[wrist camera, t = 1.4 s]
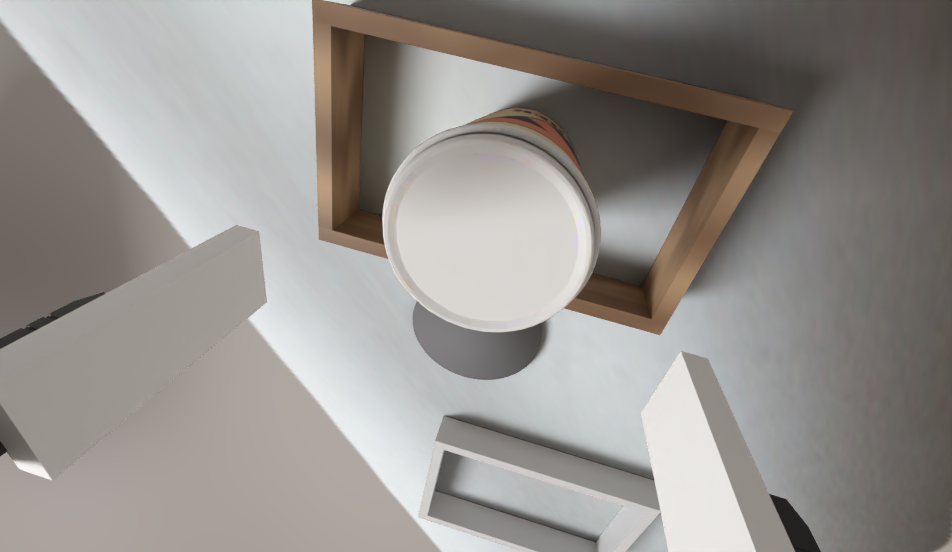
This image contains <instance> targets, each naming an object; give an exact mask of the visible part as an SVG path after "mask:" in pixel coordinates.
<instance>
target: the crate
mask: <svg viewBox="0 0 952 552" xmlns="http://www.w3.org/2000/svg"><path fill="white" fill-rule="evenodd" d="M312 9H313V45H314V80H315V116H316V152H317V188H318V223H319V240H323V241H326V242H330V243H333V244H337V245H341V246H344V247H348V248H351V249H355V250H358V251H362V252H366V253H369V254H373V255H376V256H380V257H383V258H387V259H388V256H387V253H386V249H385V244H384V238H383V223H382V216H380V215H377V214H373V213H369V212H366V211H362V210H359V188H360V158H361V128H362V97H363V67H364V37H365V34H367V35H371V36H375V37H380V38H384V39H388V40H392V41H396V42H401V43H405V44H409V45H413V46H417V47H421V48H426V49H430V50H434V51H438V52H442V53H447V54H451V55H455V56H459V57H463V58H468V59H472V60H476V61H480V62H484V63H489V64H493V65H497V66H501V67H505V68H510V69H514V70H518V71H522V72H526V73H531V74H535V75H539V76H543V77H547V78H551V79H556V80H560V81H564V82H568V83H572V84H577V85H581V86H585V87H589V88H593V89H598V90H602V91H606V92H610V93H614V94H619V95H623V96H627V97H631V98H635V99H640V100H644V101H648V102H652V103H656V104H660V105H665V106H669V107H673V108H677V109H681V110H686V111H690V112H694V113H698V114H702V115H707V116H711V117H715V118H719V119H723V120H728V121H727V123H726V124H725V126H724V128H723V130H722V132H721V134H720V136H719V138H718V140H717V142H716V144H715V146H714V148H713V150H712V152H711V153H710V155H709V157H708V159H707V161H706V163H705V165H704V167H703V169H702V171H701V173H700V175H699V177H698V179H697V181H696V183H695V184H694V186H693V188H692V190H691V192H690V194H689V196H688V198H687V200H686V202H685V204H684V206H683V208H682V210H681V212H680V214H679V215H678V217H677V219H676V221H675V223H674V225H673V227H672V229H671V231H670V233H669V235H668V237H667V239H666V241H665V243H664V245H663V246H662V248H661V250H660V252H659V254H658V256H657V258H656V260H655V262H654V264H653V266H652V268H651V270H650V272H649V274H648V276H647V277H646V279H645V281H644V283H643V285H642V287H641V286H637V285H634V284H630V283H626V282H622V281H619V280H615V279H611V278H608V277H604V276H600V275H597V274H593V273H592V275H591V276H590V278H589V280H588V282H587V283H586V285H585V286H584V288H583V289H582V290H581V292H580V293H579V294H578V295H577V296H576V297H575V298H574V299H573V301H571V302H570V303H569V304H568V305H567V306H566V307H564V308H565V309H569V310H572V311H576V312H580V313H583V314H587V315H590V316H594V317H597V318H601V319H605V320H608V321H612V322H615V323H619V324H622V325H626V326H629V327H633V328H637V329H640V330H644V331H647V332H651V333H654V334H658V335H660V334H661V333H662V331H663V329H664V328H665V326H666V324H667V322H668V321H669V319H670V317H671V316H672V314H673V312H674V311H675V309H676V307H677V306H678V304H679V302H680V301H681V299H682V297H683V296H684V294H685V292H686V291H687V289H688V287H689V286H690V284H691V282H692V281H693V279H694V277H695V276H696V274H697V272H698V270H699V269H700V267H701V265H702V264H703V262H704V260H705V259H706V257H707V255H708V254H709V252H710V250H711V249H712V247H713V245H714V244H715V242H716V240H717V239H718V237H719V235H720V234H721V232H722V230H723V229H724V227H725V225H726V224H727V222H728V220H729V218H730V217H731V215H732V213H733V212H734V210H735V208H736V207H737V205H738V203H739V202H740V200H741V198H742V197H743V195H744V193H745V192H746V190H747V188H748V187H749V185H750V183H751V182H752V180H753V178H754V177H755V175H756V173H757V172H758V170H759V168H760V166H761V165H762V163H763V161H764V160H765V158H766V156H767V155H768V153H769V151H770V150H771V148H772V146H773V145H774V143H775V141H776V140H777V138H778V136H779V135H780V133H781V131H782V130H783V128H784V126H785V125H786V123H787V121H788V120H789V118H790V116H791V114H792V113H793V111H791V110H788V109H785V108H781V107H778V106H774V105H771V104H768V103H764V102H761V101H757V100H753V99H749V98H744V97H740V96H736V95H732V94H727V93H723V92H719V91H715V90H710V89H706V88H702V87H697V86H693V85H689V84H685V83H680V82H676V81H672V80H667V79H663V78H659V77H655V76H650V75H646V74H642V73H637V72H633V71H629V70H625V69H620V68H616V67H612V66H608V65H603V64H599V63H595V62H590V61H586V60H582V59H578V58H573V57H569V56H565V55H560V54H556V53H552V52H548V51H543V50H539V49H535V48H530V47H526V46H522V45H518V44H513V43H509V42H505V41H501V40H496V39H492V38H488V37H483V36H479V35H475V34H471V33H466V32H462V31H458V30H453V29H449V28H445V27H441V26H436V25H432V24H428V23H423V22H419V21H415V20H411V19H406V18H402V17H398V16H394V15H389V14H385V13H381V12H376V11H372V10H368V9H364V8H359V7H355V6H351V5H346V4H340V3H334V2H329V1H323V0H312Z"/></svg>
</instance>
